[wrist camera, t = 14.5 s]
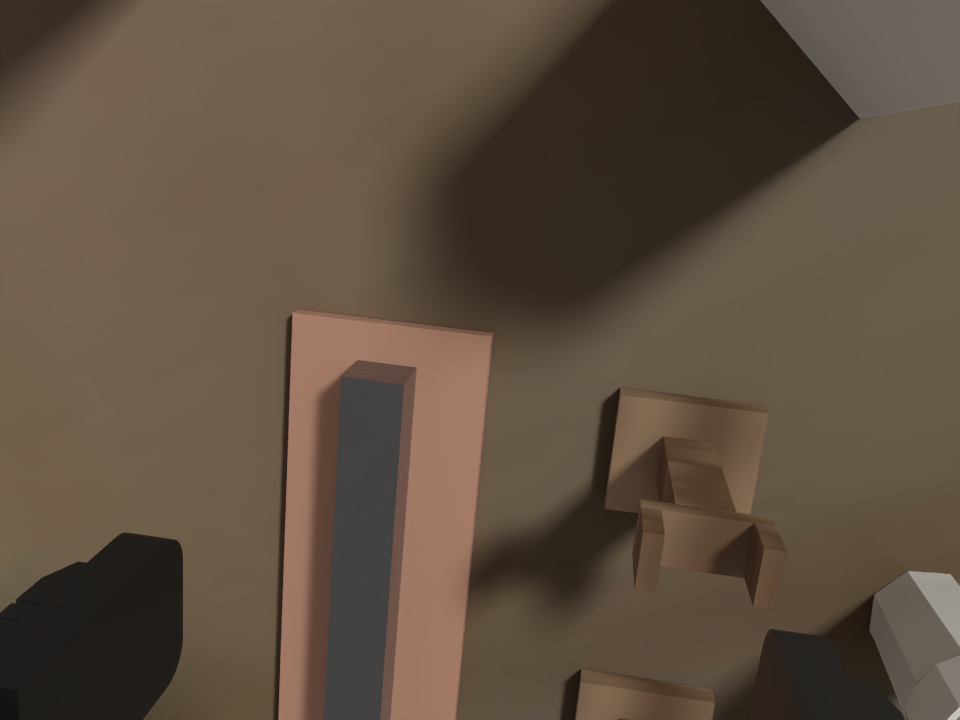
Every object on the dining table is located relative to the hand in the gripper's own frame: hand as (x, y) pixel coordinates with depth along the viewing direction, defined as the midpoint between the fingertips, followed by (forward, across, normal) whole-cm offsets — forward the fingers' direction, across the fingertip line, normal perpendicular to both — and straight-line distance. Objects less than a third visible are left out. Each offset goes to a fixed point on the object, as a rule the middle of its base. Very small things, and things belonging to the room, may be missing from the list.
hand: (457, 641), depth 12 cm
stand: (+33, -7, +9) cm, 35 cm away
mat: (+33, +8, +18) cm, 39 cm away
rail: (+32, +8, +18) cm, 38 cm away
